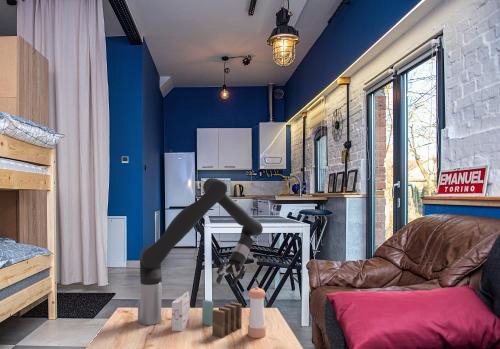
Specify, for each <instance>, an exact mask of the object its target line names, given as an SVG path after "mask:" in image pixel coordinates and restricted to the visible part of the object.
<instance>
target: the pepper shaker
mask: <svg viewBox="0 0 500 349" xmlns="http://www.w3.org/2000/svg"><path fill="white" fill-rule="evenodd" d="M247 295H248V297H249V300H250V302H249V312H248V313H249V314H248V325H247V336H248V337H250V338H251V339H252V338H253V339H261V338H264V337H266V330H267V328H266V324H265V323H266V316H265V315H266V314H265V308H264V306H265V305H264V300H265V299H264V298H265V297H266V292H265V290H264V289H263V288H259V287H258V286H255V287H254V288H252V289H250V290H248V294H247Z"/></svg>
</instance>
